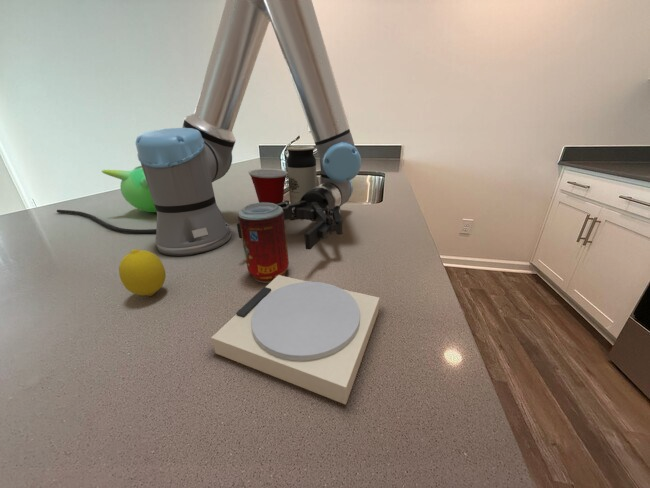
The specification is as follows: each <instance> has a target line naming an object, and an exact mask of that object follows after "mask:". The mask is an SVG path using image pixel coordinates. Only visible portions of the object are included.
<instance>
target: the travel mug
mask: <svg viewBox="0 0 650 488" xmlns="http://www.w3.org/2000/svg"><path fill="white" fill-rule="evenodd" d="M286 150H287V153H288V156H287V158H286V166H287V167H286V169H287V172H288V174H287V178H288V179H287V182H288V189H289V190H288V192H289V204H292V203H297V202H299V201H300V200H301V198H302V196H303V195H304V194H305V193H306V192H308V191H310V190H311V189H313V188H315V187H317V186H318V182H317V181H318V178H317V158H316V157H315V155H314V150H315V146H312V145H295V146H294V145H293V146H288V147H286ZM292 214H294V212H293V210H292Z"/></svg>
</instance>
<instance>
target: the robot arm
mask: <svg viewBox="0 0 650 488" xmlns="http://www.w3.org/2000/svg"><path fill="white" fill-rule="evenodd" d="M270 23H271V26H272V29H273V31H274V34H275V37H276V40H277V42H278V45H279V49H280V51H281V53H282V56H283V60H284V62H285V64H286V68H287V70H288V74H289V76H290V79H291V82H292V84H293V87H294V89H295V93H296V94H297V97H298V98H297V99H298V100H299V103H300V106H301V109H302V112H303V115H304V117H305V119H306V123H307V126H308V129H309V132H310V134H311V136H312V139H313V142H314V145H315V149H316V151H317V154H318V157H319V164H320V166H319V167H320V184H318V185H317V187H315V188H313V189H311V190H310V191H308V192H306V193H305V194H304V195H303V196H302V198H301V200H300V201H299V202H297V203H292V204H290V200H283V202H281V203H278V204H276V205H278V206H280V207H281V208H282V209H283V211H284V219H285V220H289V221H291V222H292V221H299V220H301V221H302V220H307V221H311V222H313V223H315V225H314V226H313V227H311V228H309V230H307V232H305V234H304V242H305V244H304V245H305V250H312V248H313V247H314V246H315V245H316V244H317V243H319V242H320V240H324V239H326V238H327V237H328V236H329V235H332V234H333V233H336V235H343V233H344V221H343V220H344V219H343V217H342V215H341V207H342V206H343V205H344V204H346V203H347V202H348V201H349V200H350V198H351V197H352V195H353V192H354V186H353V183H352V180H354V179H355V178H356V177H357V175H359V173H360V171H361V168H362V156H361V155H360V151H359V150H358V148H357V147H356V145H355V141H354V139H353V136H352V132H351V130H350V125H349V122H348V118H347V115H346V111H345V109H344V105H343V101H342V98H341V95H340V91H339V88H338V85H337V82H336V81H337V80H336V77H335V74H334V71H333V67H332V65H331V60H330V58H329V55H328V50H327V47H326V44H325V41H324V38H323V34H322V31H321V27H320V24H319V20H318V17H317V14H316V10H315V6H314V3H313V0H225V3H224V7H223V10H222V14H221V17H220V21H219V24H218V29H217V31H216V35H215V39H214V42H213V46H212V48H211V49H212V50H211V53H210V55H209V60H208V63H207V67H206V70H205V74H204V78H203V82H202V84H201V89H200V92H199V96H198V98H197V103H196V107H195V110H194V112H193V113H192V114H189V115H187V116H185V117H184V120H183V124H182V127H171V128H162V129H155V130H149V131H145V132H142V133H140V134H139V135H138V136H136V138H135V140H134V141H135V142H134V143H135V147H136V151H137V160H138V161H139V163H140V166H142V169H143V172H144V175H145V178H146V181H147V184H148V187H149V190H150V193H151V196H152V199H153V202H154V205H155V208H156V212H155V213H156V228H148V229H135V228H123V227H118V226H115V225H112V224H110V223H108V222H106V221H104V220H102V219H101V218H98V217H97V216H95V215H94V214H93V215H92V214H90V213H87V212H83V211H78V210H69V209H57V210H56V212H57V213H59V214H70V215H72V214H73V215H79V216H84V217H87V218H90V219H92V220H93V221H95V222H97V223H98V224H100V225H102V226H104V227H106V228H108V229H111V230H113V231H116V232H120V233H126V234H127V233H128V234H156V235H155V245H156V247H157V249H158V251H159V252H160V253H161V254H163V255H168V256H175V257H179V256H181V257H183V256H192V255H197V254H203V253H206V252H209V251H211V250H215V249H217V248H220V247H221V246H223V245H225V244H226V243H227V242H228V241H229V240H230V239H231V237H232V232H231V227H230V225H229V223H228V222H227V221H226V219H225V217H224V214H223V213H222V212H221V209H220V208H219V207H218V204H217V201H216V196H215V191H214V186H213V183H214V182H216V181H217V180H220V179H222V178H223V177H224V176H225V175H226V174H227V173H228V172H229V170H230V168H231V166H232V163H233V149H234V147H235V144H236V141H237V139H236V137H235V135H234V132H233V129H234V127H235V124H236V121H237V118H238V115H239V112H240V108H241V106H242V103H243V100H244V97H245V94H246V91H247V88H248V86H249V82H250V80H251V77H252V74H253V71H254V68H255V66H256V62H257V59H258V56H259V53H260V51H261V48H262V45H263V42H264V39H265V36H266V33H267V30H268V27H269V24H270ZM292 210H293V212H294V213H292ZM236 228H237V233H238V238H239V239H242V235H241V229H240V223H239V222H238V223H236Z"/></svg>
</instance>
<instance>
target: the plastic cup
mask: <svg viewBox="0 0 650 488" xmlns="http://www.w3.org/2000/svg"><path fill="white" fill-rule="evenodd" d="M248 175H249V176H250V179H251V181H252V184H253V187H254V191H255V193H256V197H257V201H258V203H262V202H265V203H274V204H278V203H281V202H283V201H284V196H285V195H284V194H285V183H286V179H287V177H288V170H283V169H279V168H257V169H252V170H249V171H248Z"/></svg>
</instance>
